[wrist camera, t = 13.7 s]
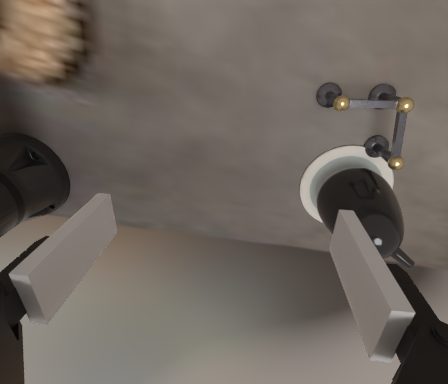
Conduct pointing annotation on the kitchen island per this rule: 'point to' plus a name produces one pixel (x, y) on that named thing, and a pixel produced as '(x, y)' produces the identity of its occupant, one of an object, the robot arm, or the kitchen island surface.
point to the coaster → (334, 162)
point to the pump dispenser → (365, 208)
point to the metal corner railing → (378, 99)
